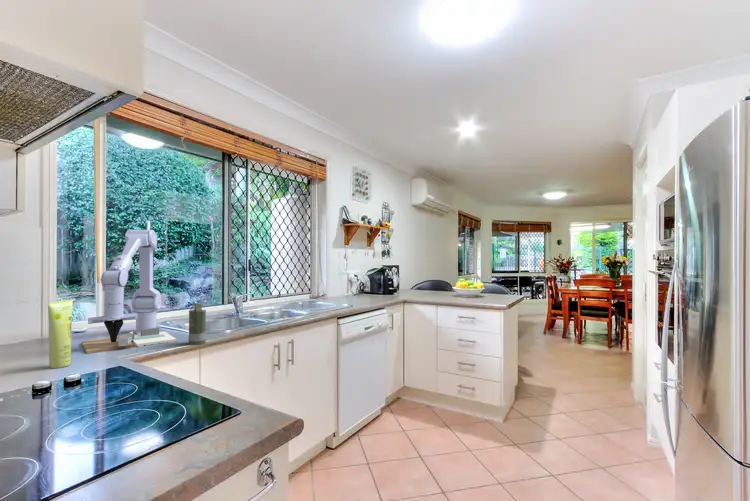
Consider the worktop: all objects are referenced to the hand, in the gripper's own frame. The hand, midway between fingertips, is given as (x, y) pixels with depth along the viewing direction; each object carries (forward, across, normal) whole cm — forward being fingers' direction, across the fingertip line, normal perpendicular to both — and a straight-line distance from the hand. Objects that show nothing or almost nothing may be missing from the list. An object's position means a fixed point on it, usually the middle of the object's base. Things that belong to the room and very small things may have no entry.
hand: (113, 341), depth 134 cm
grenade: (+2, +24, -12) cm, 28 cm away
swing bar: (+1, +4, +1) cm, 4 cm away
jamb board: (+2, -1, +4) cm, 5 cm away
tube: (+2, -16, -17) cm, 23 cm away
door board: (+2, +13, +4) cm, 14 cm away
